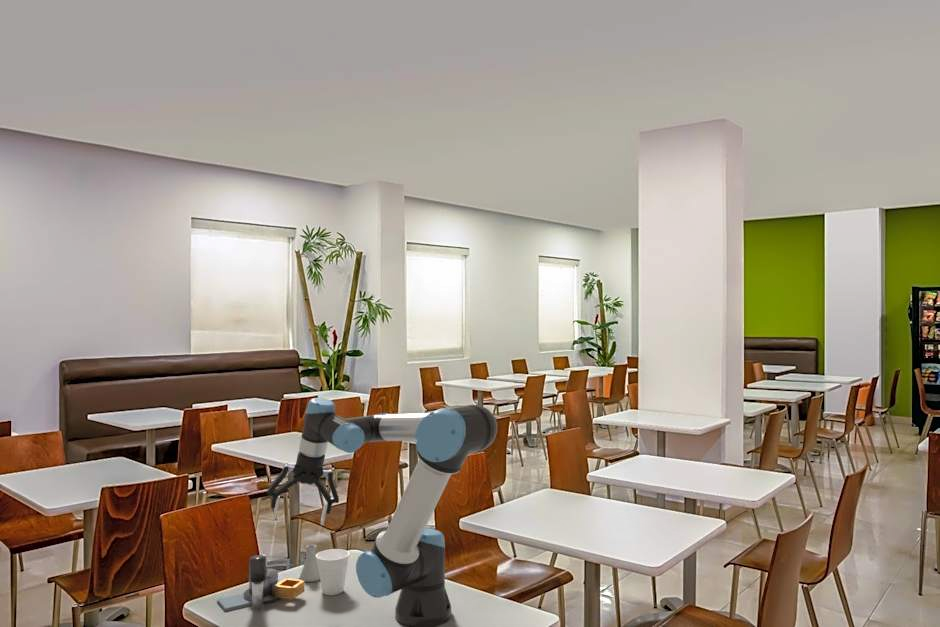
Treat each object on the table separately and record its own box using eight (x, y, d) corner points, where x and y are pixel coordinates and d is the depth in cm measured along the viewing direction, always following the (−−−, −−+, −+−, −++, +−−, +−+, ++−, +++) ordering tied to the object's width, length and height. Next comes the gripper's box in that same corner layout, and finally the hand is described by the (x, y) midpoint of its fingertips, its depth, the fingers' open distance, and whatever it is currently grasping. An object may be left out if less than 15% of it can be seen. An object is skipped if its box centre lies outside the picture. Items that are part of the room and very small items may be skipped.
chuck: (243, 594, 201) (243, 558, 201) (259, 584, 209) (259, 549, 209) (292, 600, 197) (292, 563, 197) (306, 589, 205) (306, 554, 205)
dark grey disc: (288, 598, 203) (288, 593, 203) (250, 607, 196) (250, 602, 196) (275, 586, 212) (275, 581, 212) (238, 595, 205) (238, 589, 205)
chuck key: (268, 608, 195) (268, 558, 195) (252, 612, 193) (252, 561, 193) (262, 603, 199) (262, 554, 199) (247, 607, 196) (247, 557, 197)
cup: (353, 586, 212) (353, 549, 212) (344, 598, 202) (344, 560, 202) (321, 584, 213) (321, 548, 213) (311, 597, 203) (311, 559, 203)
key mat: (254, 604, 198) (254, 601, 198) (225, 611, 194) (225, 608, 194) (245, 595, 205) (245, 592, 205) (217, 601, 200) (217, 599, 200)
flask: (294, 581, 216) (294, 548, 216) (307, 573, 223) (307, 541, 223) (315, 584, 214) (315, 551, 214) (327, 575, 221) (327, 543, 221)
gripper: (355, 452, 206) (341, 518, 209) (267, 440, 199) (254, 509, 203) (356, 463, 198) (342, 531, 202) (266, 451, 192) (252, 522, 196)
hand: (298, 520), depth 203 cm, fingers open, 13 cm apart
